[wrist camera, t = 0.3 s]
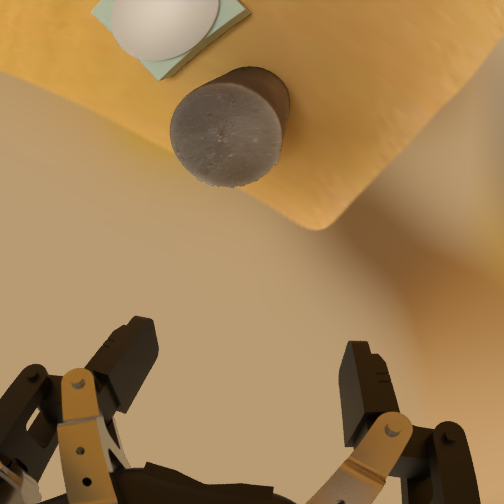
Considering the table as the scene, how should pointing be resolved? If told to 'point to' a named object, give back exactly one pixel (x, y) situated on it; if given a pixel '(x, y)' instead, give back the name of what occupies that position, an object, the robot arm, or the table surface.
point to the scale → (167, 28)
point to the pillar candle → (232, 127)
